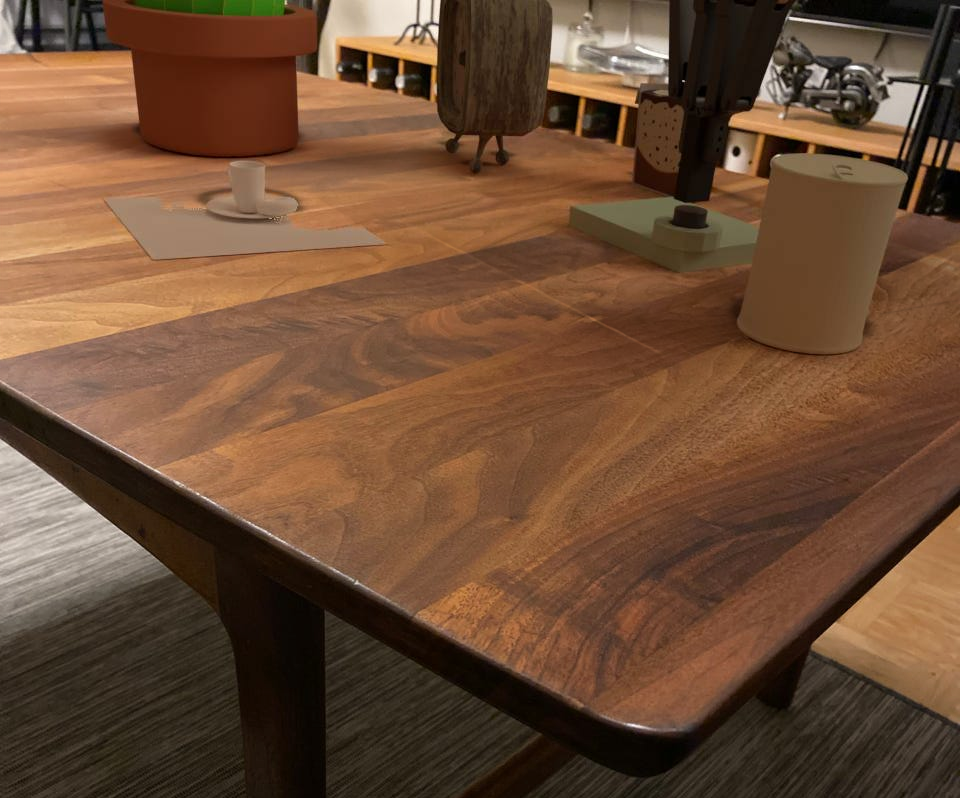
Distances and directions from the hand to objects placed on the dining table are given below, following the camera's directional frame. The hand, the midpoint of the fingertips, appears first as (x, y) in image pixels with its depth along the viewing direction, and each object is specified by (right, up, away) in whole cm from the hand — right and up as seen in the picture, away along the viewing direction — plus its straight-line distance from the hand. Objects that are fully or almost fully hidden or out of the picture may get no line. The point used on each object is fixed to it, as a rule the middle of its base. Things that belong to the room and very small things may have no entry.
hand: (691, 199), depth 87 cm
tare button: (0, -2, +1) cm, 2 cm away
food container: (+4, +12, +27) cm, 30 cm away
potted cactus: (-48, +20, +32) cm, 61 cm away
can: (+6, -14, -10) cm, 18 cm away
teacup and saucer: (-39, 0, +5) cm, 40 cm away
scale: (0, 0, +9) cm, 9 cm away
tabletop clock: (-17, +18, +32) cm, 41 cm away
